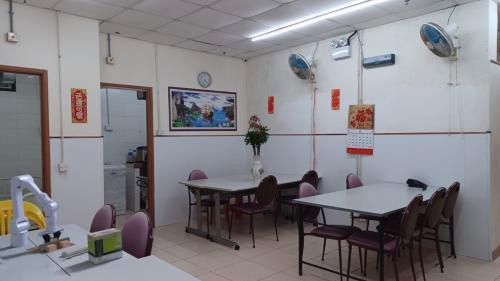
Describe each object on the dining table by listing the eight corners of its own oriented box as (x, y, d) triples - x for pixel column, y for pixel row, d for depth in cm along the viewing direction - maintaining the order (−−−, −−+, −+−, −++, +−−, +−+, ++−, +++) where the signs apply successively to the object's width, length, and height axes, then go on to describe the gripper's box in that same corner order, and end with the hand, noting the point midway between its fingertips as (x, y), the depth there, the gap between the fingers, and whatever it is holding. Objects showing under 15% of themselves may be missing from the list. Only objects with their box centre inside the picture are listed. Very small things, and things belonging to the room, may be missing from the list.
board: (25, 252, 205) (25, 249, 205) (58, 242, 223) (58, 240, 223) (42, 257, 196) (42, 254, 196) (76, 246, 214) (76, 244, 213)
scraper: (32, 250, 204) (32, 241, 204) (61, 241, 219) (60, 233, 219) (41, 252, 200) (41, 243, 200) (69, 243, 214) (69, 235, 214)
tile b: (59, 247, 209) (59, 242, 209) (65, 245, 212) (65, 240, 212) (63, 248, 207) (63, 243, 207) (69, 246, 210) (69, 241, 210)
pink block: (45, 251, 202) (45, 245, 202) (52, 249, 205) (52, 243, 205) (49, 252, 200) (49, 247, 200) (56, 250, 203) (56, 245, 203)
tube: (66, 254, 190) (106, 240, 211) (60, 249, 192) (100, 236, 214) (64, 262, 191) (104, 248, 212) (59, 258, 193) (98, 244, 215)
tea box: (115, 253, 201) (114, 227, 200) (122, 257, 194) (122, 230, 193) (87, 260, 190) (86, 233, 190) (94, 265, 183) (94, 236, 183)
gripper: (42, 226, 200) (43, 250, 201) (67, 220, 213) (67, 242, 213) (35, 225, 204) (36, 248, 204) (60, 219, 216) (60, 241, 217)
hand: (52, 245), depth 209 cm, fingers closed on scraper, 4 cm apart
